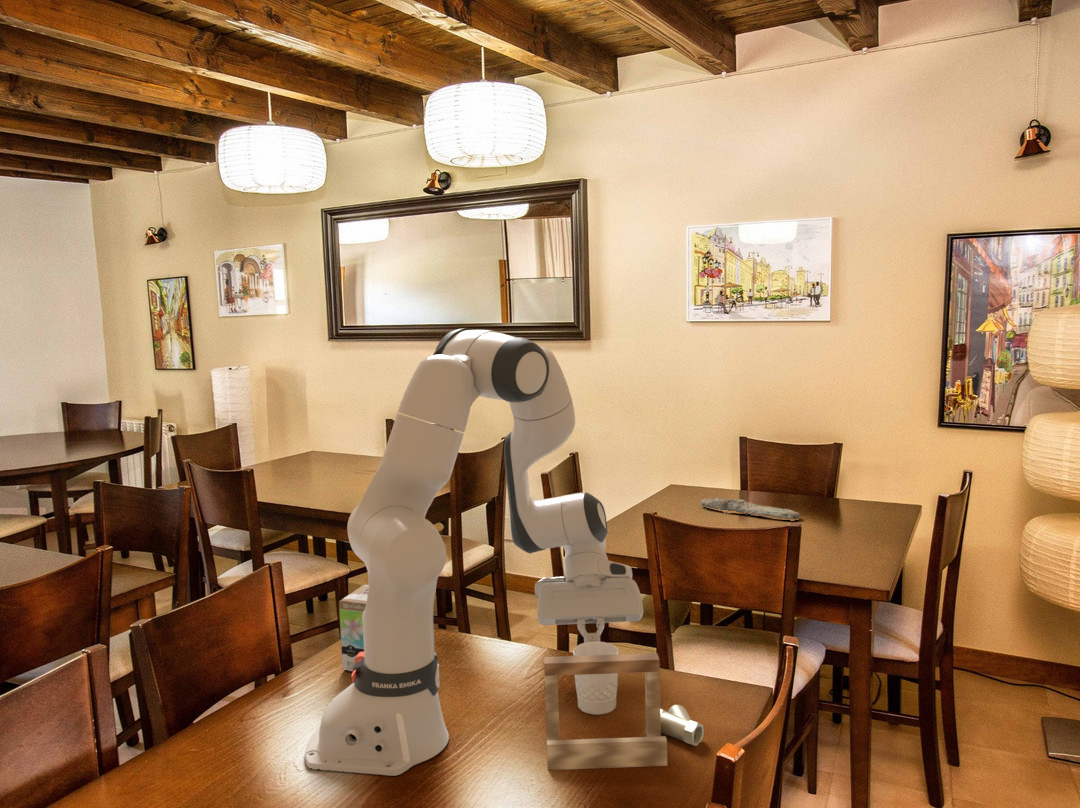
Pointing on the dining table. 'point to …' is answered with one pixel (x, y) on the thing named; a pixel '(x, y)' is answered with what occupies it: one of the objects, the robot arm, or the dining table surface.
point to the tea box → (352, 625)
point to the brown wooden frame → (607, 749)
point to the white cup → (596, 681)
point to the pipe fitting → (681, 725)
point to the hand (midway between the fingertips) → (592, 644)
